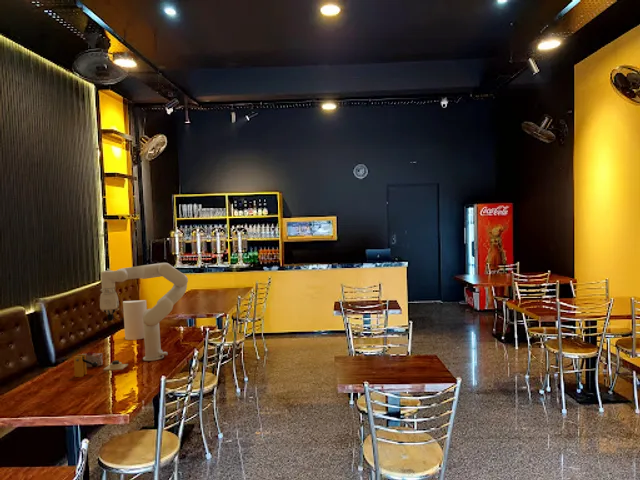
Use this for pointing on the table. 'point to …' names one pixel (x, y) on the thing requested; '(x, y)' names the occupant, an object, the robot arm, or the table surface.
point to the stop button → (115, 362)
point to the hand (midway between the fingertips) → (110, 320)
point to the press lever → (90, 362)
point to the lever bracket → (80, 365)
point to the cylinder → (134, 319)
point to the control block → (115, 366)
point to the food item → (94, 358)
